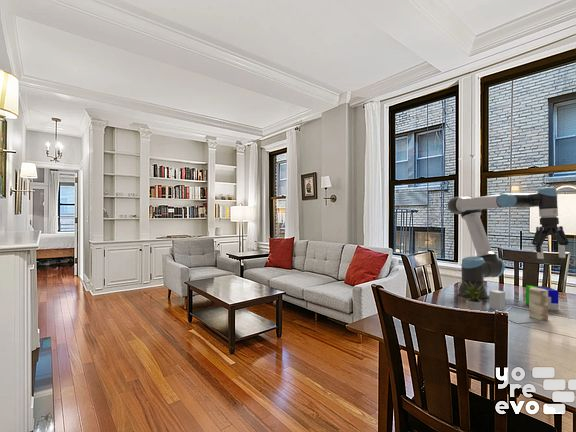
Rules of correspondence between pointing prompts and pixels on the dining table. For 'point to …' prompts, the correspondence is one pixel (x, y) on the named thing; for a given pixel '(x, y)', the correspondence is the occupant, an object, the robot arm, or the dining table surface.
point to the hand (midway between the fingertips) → (551, 258)
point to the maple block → (538, 303)
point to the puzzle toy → (551, 296)
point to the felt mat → (521, 319)
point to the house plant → (473, 297)
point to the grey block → (497, 300)
